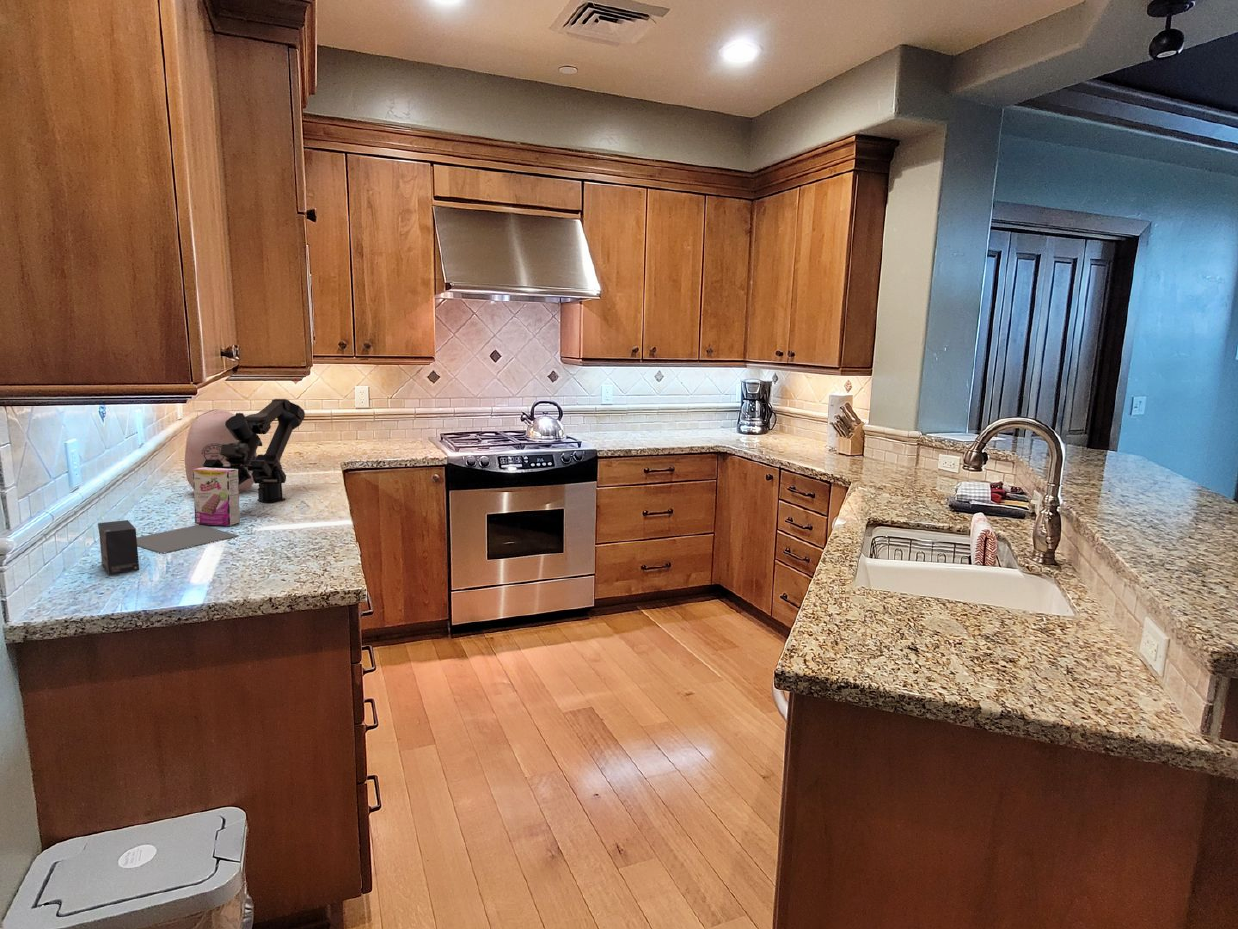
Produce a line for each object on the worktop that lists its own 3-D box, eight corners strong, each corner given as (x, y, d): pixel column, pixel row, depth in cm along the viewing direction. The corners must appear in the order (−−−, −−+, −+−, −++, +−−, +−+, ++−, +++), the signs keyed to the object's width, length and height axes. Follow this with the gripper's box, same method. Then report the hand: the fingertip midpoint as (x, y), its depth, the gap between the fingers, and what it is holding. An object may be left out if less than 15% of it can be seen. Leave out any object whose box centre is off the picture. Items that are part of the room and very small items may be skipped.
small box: (141, 570, 165) (137, 527, 163) (108, 576, 161) (103, 532, 159) (133, 559, 173) (128, 518, 171) (100, 565, 168) (96, 522, 167)
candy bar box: (193, 524, 204) (191, 468, 202) (205, 521, 209) (203, 467, 207) (229, 526, 203) (228, 470, 201) (240, 523, 208) (239, 468, 206)
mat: (199, 525, 204) (199, 524, 204) (238, 536, 194) (238, 535, 194) (123, 541, 187) (123, 540, 187) (161, 554, 177) (161, 553, 177)
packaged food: (250, 485, 260) (244, 404, 255) (266, 494, 246) (260, 409, 241) (182, 492, 246) (174, 407, 240) (195, 502, 231) (187, 412, 226)
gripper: (204, 433, 213) (183, 475, 204) (264, 434, 213) (246, 476, 204) (221, 454, 222) (202, 495, 213) (279, 455, 222) (262, 497, 213)
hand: (228, 491), depth 211 cm, fingers closed
